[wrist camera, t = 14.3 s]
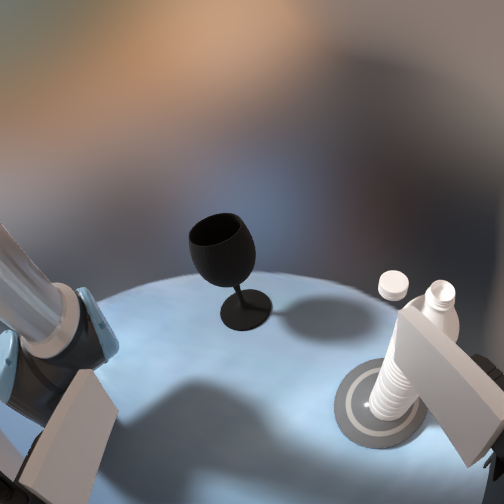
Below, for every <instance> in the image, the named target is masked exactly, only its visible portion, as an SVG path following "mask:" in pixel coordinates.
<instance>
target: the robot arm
mask: <svg viewBox="0 0 504 504" xmlns="http://www.w3.org/2000/svg"><path fill="white" fill-rule="evenodd" d="M0 320H1V321H2V322H4V323H5V324H6V325H8V326H9V327H10V328H12V329H13V330H15V331H16V332H17V333H18V334H20V335H21V336H18V335H17V333H16V332H13V331H12V330H6V331H4V332H3V333H2V334H1V335H0V400H1V401H2V402H3V403H4V404H6V405H7V406H9V407H10V408H12V409H14V410H15V411H17V412H18V413H20V414H21V415H23V416H25V417H26V418H28V419H30V420H32V421H33V422H35V423H37V424H39V425H40V426H42V427H44V428H45V429H44V430H43V431H42V432H41V433H40V434H39V435H38V436H37V437H36V438H35V440H34V442H33V444H32V446H31V448H30V449H29V451H28V453H27V454H28V455H26V457H25V459H24V462H23V464H22V466H21V468H20V470H19V472H18V474H17V476H16V478H15V480H14V482H12V481H11V480H10V479H9V478H8V477H7V476H5V475H4V474H3V473H2V472H1V471H0V504H88V501H89V497H90V494H91V491H92V487H93V484H94V481H95V478H96V475H97V471H98V468H99V465H100V462H101V459H102V456H103V453H104V450H105V447H106V445H107V442H108V439H109V436H110V433H111V431H112V428H113V425H114V422H115V420H116V417H117V414H118V412H119V411H118V409H117V408H116V406H115V405H114V403H113V402H112V400H111V399H110V397H109V396H108V394H107V393H106V391H105V390H104V388H103V387H102V385H101V383H100V382H99V380H98V379H97V377H96V375H95V374H94V372H93V371H94V370H96V369H97V368H98V367H100V366H101V365H103V364H104V363H107V362H108V360H109V359H110V358H111V357H113V356H114V355H115V354H116V353H117V352H118V350H119V342H118V340H117V338H116V336H115V334H114V332H113V331H112V329H111V327H110V325H109V324H108V322H107V320H106V319H105V317H104V315H103V313H102V312H101V310H100V308H99V307H98V305H97V303H96V302H95V300H94V298H93V297H92V295H91V293H90V292H89V290H88V289H87V288H86V287H82V288H80V289H76V291H75V292H74V291H73V290H72V289H71V288H70V287H69V286H67V285H65V284H62V283H51V282H50V281H49V280H48V279H47V278H46V276H44V274H43V273H42V272H41V271H40V270H39V269H38V267H37V266H36V265H35V264H34V263H33V262H32V261H31V259H30V258H29V257H28V256H27V255H26V253H24V251H23V250H22V249H21V248H20V246H19V245H18V244H17V242H16V241H15V240H14V239H13V237H12V236H11V235H10V233H9V232H8V231H7V229H6V228H5V227H4V225H3V224H2V223H1V221H0ZM394 362H395V363H396V365H397V366H398V367H399V369H400V370H401V372H402V373H403V374H404V376H405V377H406V378H407V380H408V381H409V382H410V384H411V385H412V387H413V388H414V389H415V391H416V392H417V393H418V395H419V396H420V398H421V399H422V401H423V402H424V403H425V405H426V406H427V408H428V409H429V410H430V412H431V413H432V415H433V416H434V418H435V419H436V421H437V422H438V423H439V425H440V426H441V428H442V429H443V431H444V432H445V434H446V435H447V437H448V438H449V440H450V441H451V443H452V444H453V446H454V447H455V449H456V450H457V452H458V454H459V455H460V457H461V458H462V460H463V461H464V463H465V464H466V466H467V468H469V467H470V466H472V465H473V464H474V463H476V462H477V461H479V460H480V459H481V458H483V457H484V456H485V455H486V453H487V452H488V451H489V450H490V448H492V450H493V451H494V452H493V453H492V455H491V456H490V457H489V458H488V460H487V461H486V462H485V464H484V467H483V468H486V467H487V466H488V465H489V463H490V462H491V464H490V467H489V468H490V470H489V475H488V480H487V485H486V490H485V494H484V498H483V502H482V504H504V375H503V373H502V372H501V371H500V370H499V369H497V368H496V366H495V365H494V364H493V363H491V361H490V360H488V359H487V358H485V357H483V356H481V355H478V354H475V355H473V356H472V357H469V356H468V355H467V354H466V353H465V352H463V350H461V349H460V348H459V347H458V346H457V345H456V344H455V343H454V342H453V341H452V340H451V339H450V338H449V337H448V336H447V335H446V334H444V333H443V332H442V331H441V330H440V329H439V328H438V327H437V326H436V325H435V324H433V323H432V322H431V321H430V320H429V319H428V318H427V317H426V316H424V315H423V314H422V313H421V312H420V311H419V310H418V309H417V308H415V307H414V306H410V307H407V308H404V309H401V310H399V311H398V320H397V334H396V345H395V354H394Z"/></svg>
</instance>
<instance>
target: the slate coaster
mask: <svg viewBox="0 0 504 504" xmlns="http://www.w3.org/2000/svg"><path fill="white" fill-rule="evenodd" d="M384 359H385V358H380V359H374V360H370V361H367V362H365V363H363V364H360V365H359V366H357V367H356V368H354V369H353V370H352V371H350V372H349V373H348V374H347V375H346V377H345V378H344V379H343V380H342V382H341V384H340V385H339V387H338V390H337V393H336V396H335V402H334V414H335V419H336V422H337V424H338V427H339V428H340V430H341V432H342V433H343V434H344V435H345V436H346V437H347V438H348V439H349V440H350V441H352V442H354V443H355V444H357V445H360V446H362V447H366V448H373V449H381V448H387V447H391V446H394V445H397V444H399V443H401V442H402V441H404V440H406V439H407V438H408V437H410V436H411V435H412V434H413V433H414V432H415V431H416V430H417V429H418V428H419V426H420V425H421V424H422V422H423V420H424V418H425V416H426V413H427V410H428V408H427V406H426V405H425V403H424V402H423V401H422V399H421V398H420V396H419V397H418V398H417V399H416V400H415V402H414V403H413V404H412V405H411V406H410V408H409V409H408V410H407V411H406V412H405V414H404V415H402V416H401V417H400V418H398V419H396V420H392V421H385V420H380V419H378V418H376V417H375V416H374V414H372V412H371V410H370V408H369V398H370V395H371V392H372V390H373V387H374V385H375V382H376V380H377V377H378V375H379V372H380V369H381V367H382V364H383V361H384Z"/></svg>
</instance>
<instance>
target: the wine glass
mask: <svg viewBox="0 0 504 504" xmlns="http://www.w3.org/2000/svg"><path fill="white" fill-rule="evenodd" d="M189 247H190V253H191V257H192V260H193V263H194V265H195V267H196V269H197V271H198V272H199V273H200V275H201V276H202V277H203V278H204V279H205V280H207V281H208V282H209V283H211V284H213V285H216V286H219V287H233V288H234V290H235V292H236V293H234V294H233V295H231V296H230V297H228V298H227V299H226V300H225V302H224V303H223V305H222V307H221V311H220V316H221V319H222V321H223V323H224V324H225V325H226V326H227V327H229V328H231V329H233V330H238V331H244V330H250V329H253V328H255V327H257V326H259V325H260V324H262V323H263V322H264V321H265V320H266V318H267V317H268V315H269V313H270V310H271V304H270V300H269V298H268V297H267V296H266V295H265V294H264V293H262V292H260V291H258V290H253V289H247V290H242V291H241V289H240V285H239V284H241V283H242V282H243V281H245V280H246V279H247V278H248V276H249V275H250V274H251V272H252V270H253V268H254V264H255V258H256V251H255V245H254V242H253V239H252V236H251V234H250V232H249V230H248V229H247V227H246V225H245V224H244V222H243V221H242V220H241V218H240V217H239V216H237V215H235V214H232V213H220V214H215V215H212V216H209V217H207V218H205V219H203V220H201V221H200V222H198V223H197V224H196V225H195V226H194V227H193V228H192V230H191V231H190V233H189Z"/></svg>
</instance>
